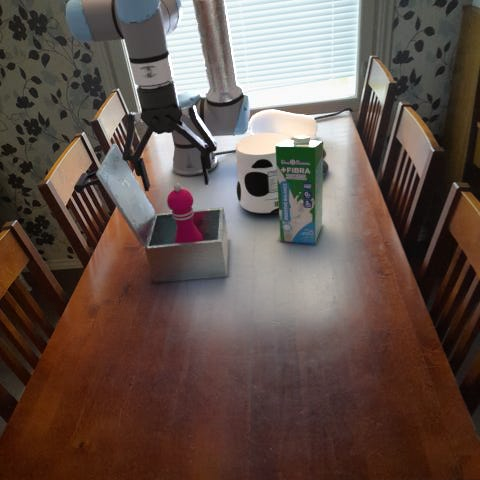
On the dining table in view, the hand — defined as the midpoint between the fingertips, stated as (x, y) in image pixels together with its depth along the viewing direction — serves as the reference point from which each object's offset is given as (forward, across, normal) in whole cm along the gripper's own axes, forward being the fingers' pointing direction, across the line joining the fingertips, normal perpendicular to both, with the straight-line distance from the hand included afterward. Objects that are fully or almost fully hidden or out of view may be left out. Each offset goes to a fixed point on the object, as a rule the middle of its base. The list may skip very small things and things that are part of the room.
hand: (177, 185), depth 102 cm
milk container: (+21, +20, +25) cm, 38 cm away
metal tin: (+20, 0, 0) cm, 20 cm away
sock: (+21, +28, +71) cm, 79 cm away
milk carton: (+21, +28, +8) cm, 36 cm away
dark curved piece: (+21, +31, +43) cm, 57 cm away
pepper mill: (+20, 0, 0) cm, 20 cm away
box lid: (+1, -11, 0) cm, 11 cm away
